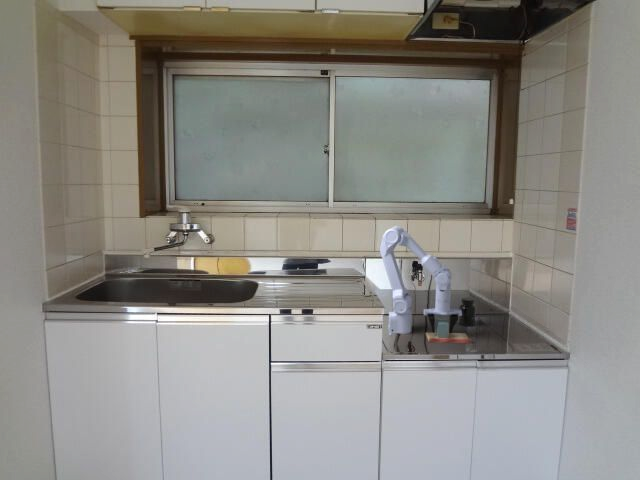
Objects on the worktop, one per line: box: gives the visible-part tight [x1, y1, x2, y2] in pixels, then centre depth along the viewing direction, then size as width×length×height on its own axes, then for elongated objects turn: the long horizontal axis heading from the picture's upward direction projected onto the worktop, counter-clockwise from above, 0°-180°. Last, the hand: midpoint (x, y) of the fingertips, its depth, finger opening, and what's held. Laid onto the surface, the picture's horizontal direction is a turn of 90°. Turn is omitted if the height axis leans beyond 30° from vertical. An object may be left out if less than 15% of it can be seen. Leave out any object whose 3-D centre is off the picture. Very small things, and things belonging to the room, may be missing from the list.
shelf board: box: [425, 332, 473, 344], centre depth 177 cm, size 16×10×2 cm, turn 85°
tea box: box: [434, 318, 450, 338], centre depth 179 cm, size 4×6×6 cm
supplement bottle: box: [457, 297, 477, 328], centre depth 191 cm, size 7×7×12 cm
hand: (441, 332), depth 179 cm, fingers open, 6 cm apart
